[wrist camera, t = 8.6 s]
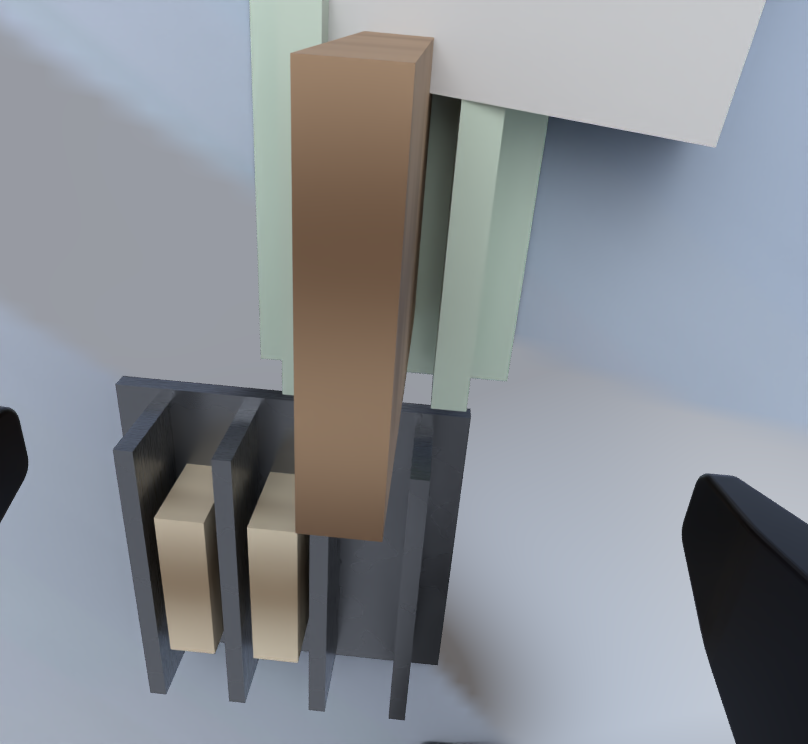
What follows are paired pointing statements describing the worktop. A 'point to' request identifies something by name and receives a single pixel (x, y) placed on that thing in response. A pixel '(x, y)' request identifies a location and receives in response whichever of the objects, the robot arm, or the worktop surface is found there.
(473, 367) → the sage stand
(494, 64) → the decorative molding
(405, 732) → the worktop surface
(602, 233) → the worktop surface
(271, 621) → the offcut strip middle
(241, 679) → the offcut rack
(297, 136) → the walnut sheet
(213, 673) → the worktop surface
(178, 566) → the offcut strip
